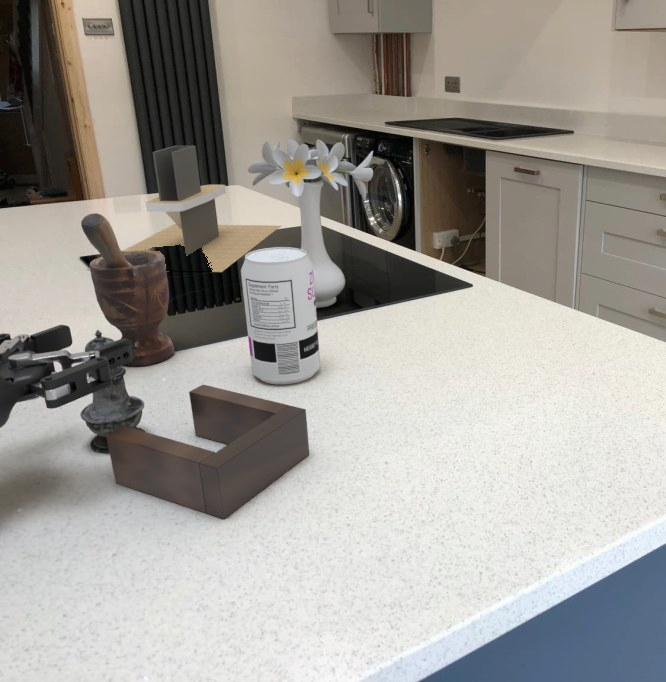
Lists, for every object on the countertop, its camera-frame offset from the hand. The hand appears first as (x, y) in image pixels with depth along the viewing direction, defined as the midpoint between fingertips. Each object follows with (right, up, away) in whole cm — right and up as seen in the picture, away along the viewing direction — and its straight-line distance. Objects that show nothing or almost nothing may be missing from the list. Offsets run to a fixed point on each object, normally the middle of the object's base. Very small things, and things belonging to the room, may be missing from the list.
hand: (98, 341), depth 71 cm
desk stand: (+11, -12, -1) cm, 16 cm away
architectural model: (-19, +20, +80) cm, 85 cm away
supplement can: (+14, -4, +20) cm, 24 cm away
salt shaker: (0, -10, +4) cm, 11 cm away
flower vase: (+13, +6, +46) cm, 48 cm away
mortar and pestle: (-6, -3, +23) cm, 24 cm away
